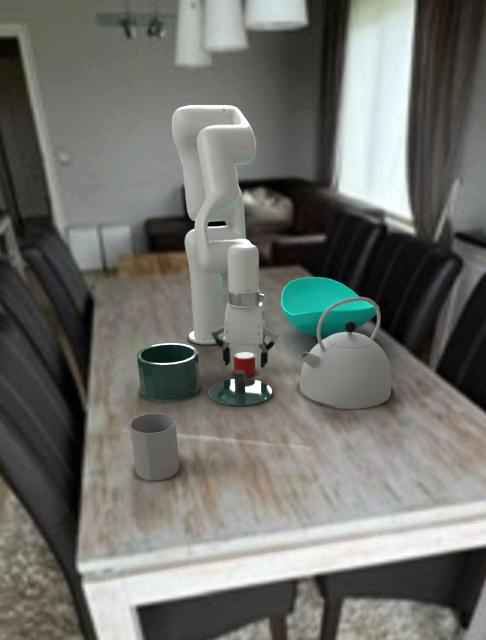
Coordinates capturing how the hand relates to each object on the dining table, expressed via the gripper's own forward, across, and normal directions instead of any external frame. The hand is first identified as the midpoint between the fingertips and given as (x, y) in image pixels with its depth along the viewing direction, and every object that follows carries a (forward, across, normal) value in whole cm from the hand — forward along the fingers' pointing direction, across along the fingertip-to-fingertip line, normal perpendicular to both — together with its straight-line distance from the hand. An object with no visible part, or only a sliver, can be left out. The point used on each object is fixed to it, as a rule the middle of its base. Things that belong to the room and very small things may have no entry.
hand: (245, 364), depth 149 cm
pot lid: (+2, -2, +14) cm, 14 cm away
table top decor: (+2, -18, -36) cm, 41 cm away
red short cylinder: (+3, 0, -1) cm, 3 cm away
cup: (+4, +6, +50) cm, 51 cm away
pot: (+3, +16, +13) cm, 21 cm away
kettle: (+3, -26, +5) cm, 26 cm away
